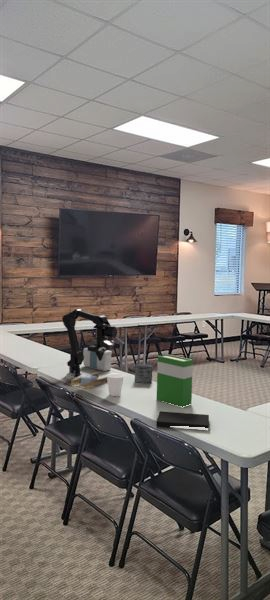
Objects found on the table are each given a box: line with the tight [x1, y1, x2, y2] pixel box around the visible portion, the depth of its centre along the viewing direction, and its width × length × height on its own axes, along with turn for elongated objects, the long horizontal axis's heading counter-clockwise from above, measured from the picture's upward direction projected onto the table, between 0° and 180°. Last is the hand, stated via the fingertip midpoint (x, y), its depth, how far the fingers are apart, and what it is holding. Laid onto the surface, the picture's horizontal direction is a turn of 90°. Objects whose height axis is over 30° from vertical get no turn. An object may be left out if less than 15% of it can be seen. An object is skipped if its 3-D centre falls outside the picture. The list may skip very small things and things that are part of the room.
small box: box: [133, 363, 153, 384], centre depth 275 cm, size 11×6×10 cm, turn 84°
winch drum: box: [65, 371, 76, 384], centre depth 270 cm, size 6×4×8 cm
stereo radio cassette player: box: [82, 347, 113, 372], centre depth 307 cm, size 21×8×20 cm, turn 49°
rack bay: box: [69, 371, 108, 390], centre depth 270 cm, size 13×25×3 cm, turn 146°
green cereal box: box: [156, 353, 194, 407], centre depth 235 cm, size 18×7×24 cm, turn 45°
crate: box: [80, 374, 98, 386], centre depth 267 cm, size 7×7×5 cm
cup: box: [105, 372, 125, 397], centre depth 246 cm, size 10×10×11 cm
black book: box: [156, 410, 210, 429], centre depth 205 cm, size 14×23×3 cm, turn 81°
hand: (100, 360), depth 277 cm, fingers closed
